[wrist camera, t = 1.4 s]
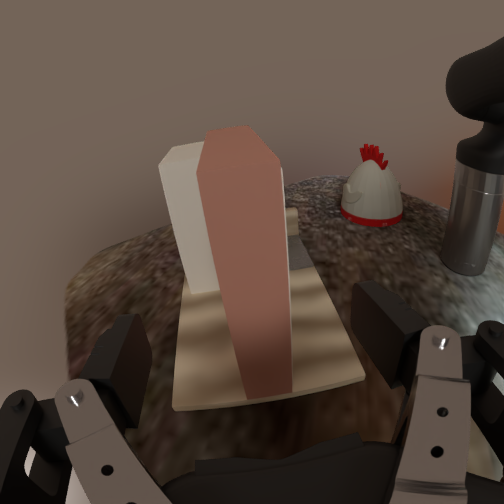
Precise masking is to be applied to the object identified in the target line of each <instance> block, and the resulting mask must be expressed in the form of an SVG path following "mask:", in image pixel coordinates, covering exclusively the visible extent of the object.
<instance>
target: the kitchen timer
mask: <svg viewBox="0 0 504 504" xmlns="http://www.w3.org/2000/svg"><path fill="white" fill-rule="evenodd" d="M360 152H361V156H362V159H363V163H362V164H360V165H359V166H358V167H357V168H356V169H355V170H354V171H353V172H352V174H351V175H350V177H349V179H348V181H347V184H346V183H345V184H344V186H343V196H342V201H341V213H342V215H343V216H344V217H345V218H346V219H348V220H350V221H352V222H354V223H357V224H360V225H366V226H374V227H383V226H390V225H393V224H396V223H397V222H399V221H400V220H401V218H402V212H403V205H402V198H401V194H400V188H401V187H400V186H401V185H400V183H397V180H396V178H395V176H394V175H393V173H392V172H391V170H390V169H389V168H388V167H387V164H388V160H386V161H384V162H383V163H382V159H383V155H384V153H380V154H379V147H378V146H375V147H374V145H370V147H368V144H364V148H360Z"/></svg>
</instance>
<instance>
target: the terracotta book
mask: <svg viewBox="0 0 504 504" xmlns="http://www.w3.org/2000/svg"><path fill="white" fill-rule="evenodd" d="M196 175H197V181H198V186H199V191H200V197H201V202H202V207H203V212H204V217H205V222H206V227H207V232H208V237H209V241H210V246H211V251H212V256H213V260H214V265H215V270H216V274H217V279H218V283H219V288H220V292H221V296H222V301H223V305H224V309H225V314H226V318H227V322H228V326H229V331H230V335H231V339H232V343H233V347H234V351H235V355H236V359H237V363H238V367H239V371H240V375H241V379H242V382H243V386H244V390H245V394H246V398H247V400H250V399H257V398H263V397H270V396H276V395H281V394H287V393H292V386H293V358H292V325H291V300H290V279H289V260H288V242H287V227H286V212H285V198H284V185H283V173H282V168H281V166H280V160H279V159H278V157H277V156H276V155H275V154H274V153H273V152H272V151H271V150H270V149H269V148H268V146H267V145H266V144H265V143H264V142H263V141H262V140H261V139H260V138H259V137H258V135H257V134H256V133H255V132H254V131H253V130H252V129H251V128H250V127H249V126H248V125H244V126H237V127H230V128H223V129H216V130H210V131H207V134H206V137H205V141H204V145H203V148H202V152H201V155H200V159H199V163H198V167H197V170H196Z"/></svg>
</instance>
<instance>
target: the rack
mask: <svg viewBox="0 0 504 504" xmlns="http://www.w3.org/2000/svg"><path fill="white" fill-rule="evenodd" d="M285 212H286V227H287V236H290V235H296V234H298V235H299V232H298V211H297V209H296V207H294V208H287V209H285ZM289 279H290V300H291V325H292V358H293V386H292V393H287V394H281V395H276V396H270V397H263V398H257V399H250V400H247V398H246V394H245V390H244V386H243V382H242V379H241V375H240V371H239V367H238V363H237V359H236V355H235V351H234V347H233V343H232V339H231V335H230V331H229V326H228V322H227V318H226V314H225V309H224V305H223V301H222V296H221V292H220V290H216V291H209V292H202V293H195V294H191V291H190V288H189V284H188V281H187V278H186V274H185V279H184V286H183V294H182V302H181V311H180V320H179V329H178V339H177V349H176V360H175V372H174V385H173V400H172V407H173V409H174V410H175V411H189V410H203V409H214V408H224V407H233V406H241V405H249V404H256V403H262V402H269V401H275V400H280V399H286V398H291V397H296V396H301V395H306V394H311V393H315V392H320V391H324V390H328V389H332V388H336V387H340V386H344V385H348V384H352V383H355V382H359V381H363V380H364V379H365V376H366V374H365V372H364V370H363V367H362V365H361V363H360V361H359V359H358V356H357V354H356V352H355V350H354V348H353V345H352V343H351V341H350V339H349V337H348V335H347V332H346V330H345V328H344V326H343V324H342V322H341V320H340V318H339V316H338V313H337V311H336V309H335V307H334V305H333V303H332V301H331V299H330V297H329V295H328V293H327V291H326V289H325V287H324V285H323V283H322V281H321V279H320V277H319V275H318V273H317V271H316V269H315V267H310V268H304V269H298V270H292V271H289Z"/></svg>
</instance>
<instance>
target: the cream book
mask: <svg viewBox="0 0 504 504" xmlns="http://www.w3.org/2000/svg"><path fill="white" fill-rule="evenodd" d="M203 145H204V141H202V142H197V143H192V144H186V145H180V146H176V147H172V149H171V150H170V151H169V152H168V154H167V155H166V156H165V157H164V159H163V160H162V161H161V162H160V164H159V165H158V167H159V171H160V176H161V180H162V185H163V189H164V193H165V198H166V202H167V206H168V210H169V214H170V218H171V222H172V226H173V230H174V234H175V238H176V241H177V245H178V249H179V253H180V256H181V260H182V264H183V267H184V271H185V274H186V278H187V281H188V284H189V288H190V291H191V294H195V293H202V292H209V291H216V290H220V288H219V283H218V279H217V274H216V270H215V265H214V260H213V256H212V251H211V246H210V241H209V237H208V232H207V227H206V222H205V217H204V212H203V207H202V202H201V197H200V191H199V186H198V181H197V175H196V170H197V167H198V163H199V159H200V155H201V152H202V148H203Z"/></svg>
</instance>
